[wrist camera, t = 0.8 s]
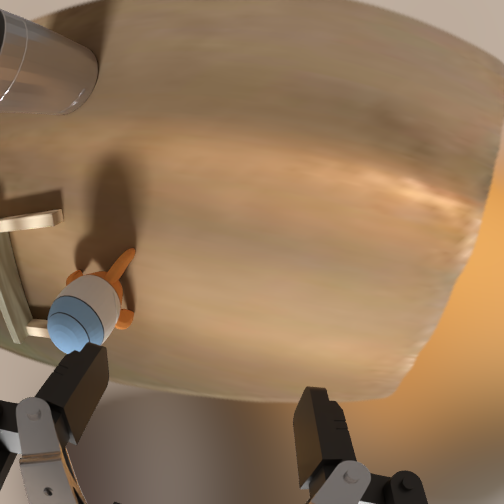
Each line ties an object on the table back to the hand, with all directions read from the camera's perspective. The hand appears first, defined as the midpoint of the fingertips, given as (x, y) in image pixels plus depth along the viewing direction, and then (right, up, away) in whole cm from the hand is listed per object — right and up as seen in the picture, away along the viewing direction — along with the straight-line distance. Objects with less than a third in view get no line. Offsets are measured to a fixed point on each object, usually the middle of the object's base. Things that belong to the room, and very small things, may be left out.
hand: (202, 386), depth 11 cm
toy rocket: (-15, +2, +26) cm, 30 cm away
